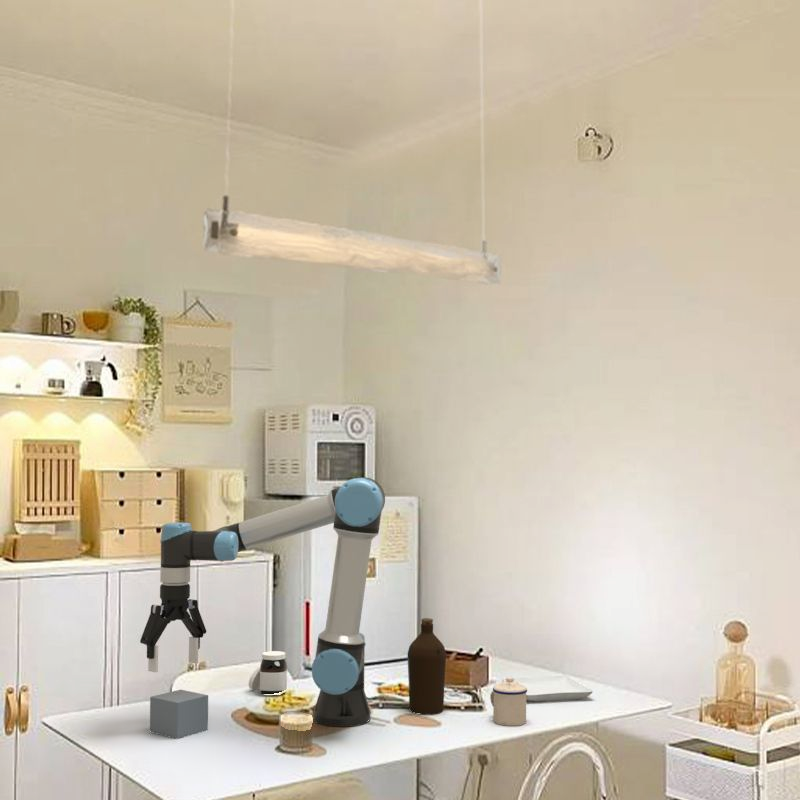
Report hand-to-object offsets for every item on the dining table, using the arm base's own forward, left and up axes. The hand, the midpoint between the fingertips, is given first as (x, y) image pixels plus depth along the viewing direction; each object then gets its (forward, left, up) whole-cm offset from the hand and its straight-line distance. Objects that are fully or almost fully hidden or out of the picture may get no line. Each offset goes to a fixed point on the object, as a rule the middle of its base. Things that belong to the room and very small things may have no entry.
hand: (173, 667), depth 272 cm
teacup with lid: (-63, -60, -16) cm, 88 cm away
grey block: (-2, 0, -16) cm, 16 cm away
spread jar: (+9, -45, -16) cm, 49 cm away
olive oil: (-40, -56, -16) cm, 71 cm away
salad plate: (-57, -94, -16) cm, 111 cm away
